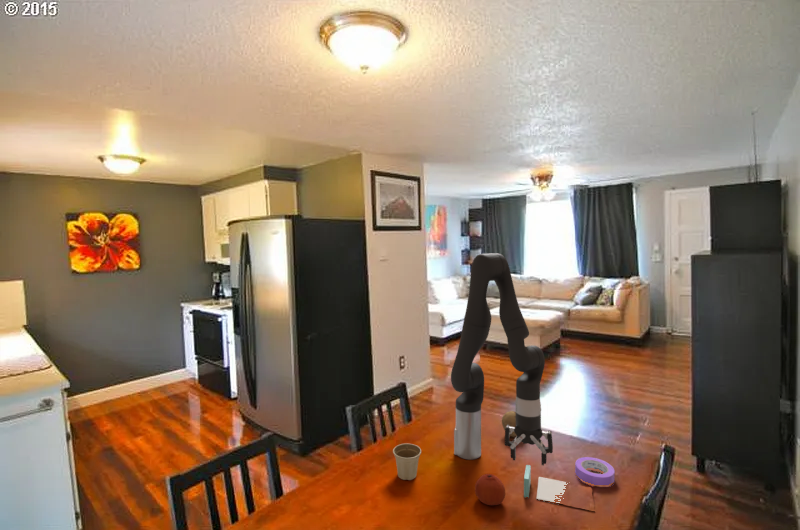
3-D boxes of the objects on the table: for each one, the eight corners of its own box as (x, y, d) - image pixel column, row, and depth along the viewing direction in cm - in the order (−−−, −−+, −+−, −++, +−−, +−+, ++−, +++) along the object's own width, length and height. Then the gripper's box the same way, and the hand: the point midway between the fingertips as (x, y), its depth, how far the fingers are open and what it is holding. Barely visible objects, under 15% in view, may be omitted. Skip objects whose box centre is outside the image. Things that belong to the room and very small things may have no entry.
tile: (523, 497, 125) (523, 478, 124) (526, 482, 132) (526, 464, 132) (528, 498, 124) (528, 479, 124) (530, 483, 132) (530, 465, 131)
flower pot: (425, 471, 139) (425, 446, 138) (414, 486, 131) (414, 460, 130) (400, 465, 143) (400, 441, 142) (388, 479, 135) (388, 454, 134)
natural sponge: (515, 429, 168) (515, 405, 168) (530, 438, 160) (530, 414, 160) (497, 433, 165) (497, 409, 164) (511, 443, 157) (511, 418, 156)
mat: (536, 499, 123) (536, 498, 123) (538, 477, 134) (538, 476, 134) (595, 512, 117) (595, 511, 117) (592, 488, 128) (592, 487, 128)
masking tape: (619, 490, 128) (619, 478, 127) (579, 486, 130) (579, 474, 130) (608, 469, 139) (608, 458, 139) (571, 466, 141) (571, 455, 141)
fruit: (472, 492, 127) (472, 467, 127) (501, 492, 127) (501, 467, 126) (477, 511, 118) (477, 485, 118) (508, 511, 118) (508, 485, 118)
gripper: (502, 412, 126) (503, 463, 126) (552, 418, 120) (552, 472, 121) (506, 403, 133) (506, 452, 133) (552, 409, 127) (553, 459, 128)
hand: (528, 461), depth 127 cm, fingers open, 8 cm apart
